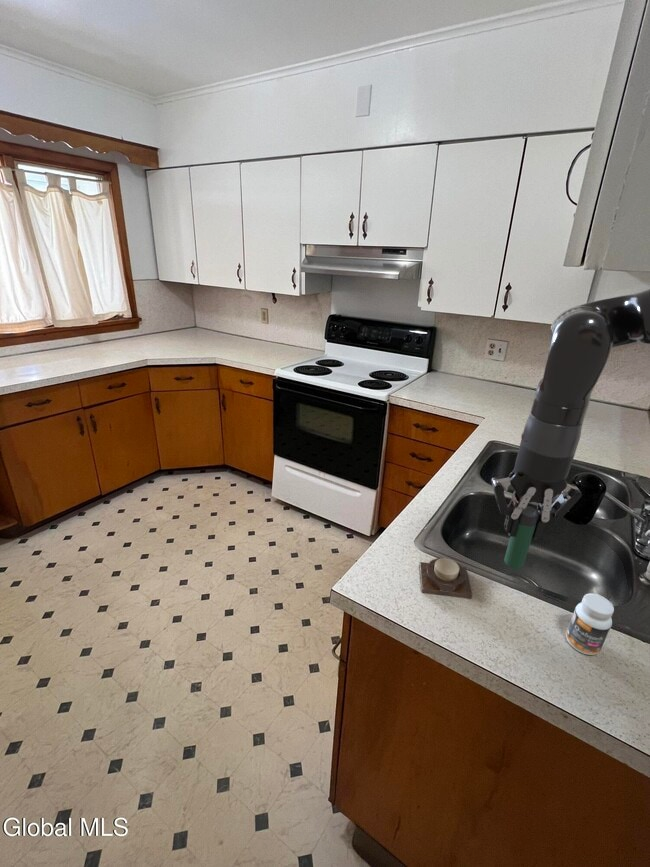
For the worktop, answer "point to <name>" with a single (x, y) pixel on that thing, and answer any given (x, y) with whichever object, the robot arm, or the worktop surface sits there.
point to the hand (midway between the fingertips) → (521, 534)
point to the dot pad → (446, 569)
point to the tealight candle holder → (444, 582)
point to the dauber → (521, 538)
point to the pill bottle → (590, 624)
